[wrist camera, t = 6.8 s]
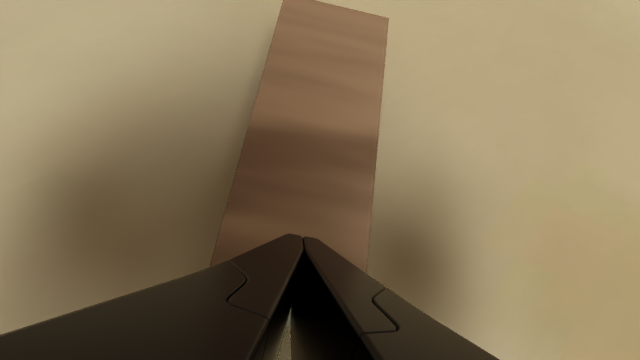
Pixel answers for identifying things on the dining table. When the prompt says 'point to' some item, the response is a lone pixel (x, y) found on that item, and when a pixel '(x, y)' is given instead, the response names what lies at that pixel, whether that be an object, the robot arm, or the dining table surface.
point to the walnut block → (311, 135)
